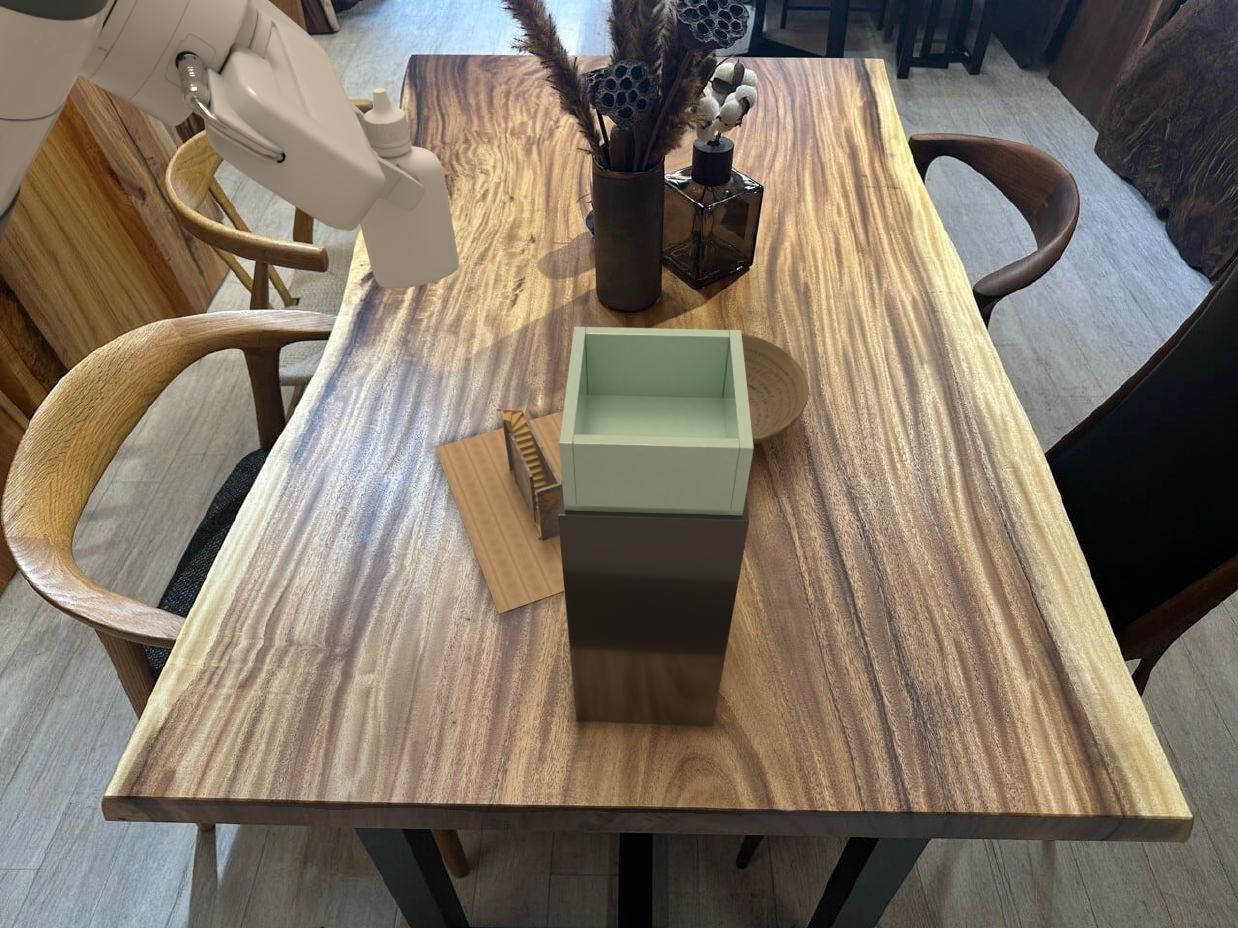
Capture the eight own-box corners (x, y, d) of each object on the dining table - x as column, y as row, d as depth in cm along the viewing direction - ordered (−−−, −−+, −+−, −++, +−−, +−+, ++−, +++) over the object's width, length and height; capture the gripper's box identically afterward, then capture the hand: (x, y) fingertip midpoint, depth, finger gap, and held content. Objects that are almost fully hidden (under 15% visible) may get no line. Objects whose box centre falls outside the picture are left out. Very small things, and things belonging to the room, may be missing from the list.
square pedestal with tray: (576, 721, 71) (551, 447, 46) (585, 606, 79) (568, 322, 54) (713, 726, 70) (761, 453, 46) (708, 610, 79) (746, 326, 54)
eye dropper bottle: (385, 254, 56) (342, 74, 47) (465, 258, 56) (436, 77, 47) (366, 289, 53) (317, 104, 44) (451, 293, 53) (417, 107, 44)
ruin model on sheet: (434, 447, 94) (419, 384, 87) (565, 410, 99) (561, 346, 92) (498, 613, 78) (486, 552, 71) (651, 560, 83) (654, 497, 76)
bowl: (823, 473, 91) (836, 422, 85) (665, 499, 89) (668, 447, 83) (768, 371, 104) (777, 320, 98) (629, 391, 101) (629, 340, 95)
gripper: (221, 41, 32) (485, 216, 42) (196, -75, 46) (401, 79, 55) (148, 167, 34) (416, 307, 44) (144, 21, 48) (351, 153, 57)
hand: (407, 179), depth 50 cm, fingers closed on eye dropper bottle, 3 cm apart
